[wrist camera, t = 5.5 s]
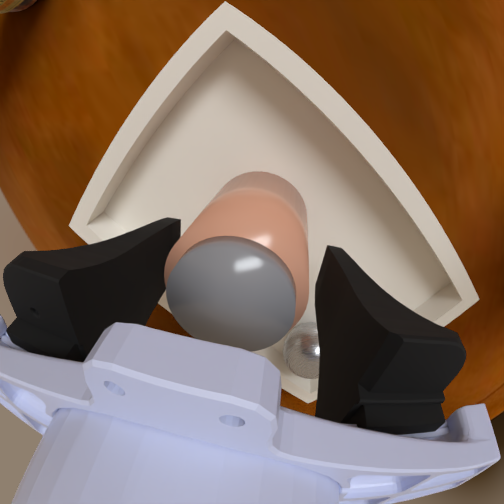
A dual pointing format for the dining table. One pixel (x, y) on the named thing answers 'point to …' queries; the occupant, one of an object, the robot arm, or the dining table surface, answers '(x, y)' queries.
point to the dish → (273, 169)
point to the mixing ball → (303, 351)
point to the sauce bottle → (15, 5)
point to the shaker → (242, 264)
